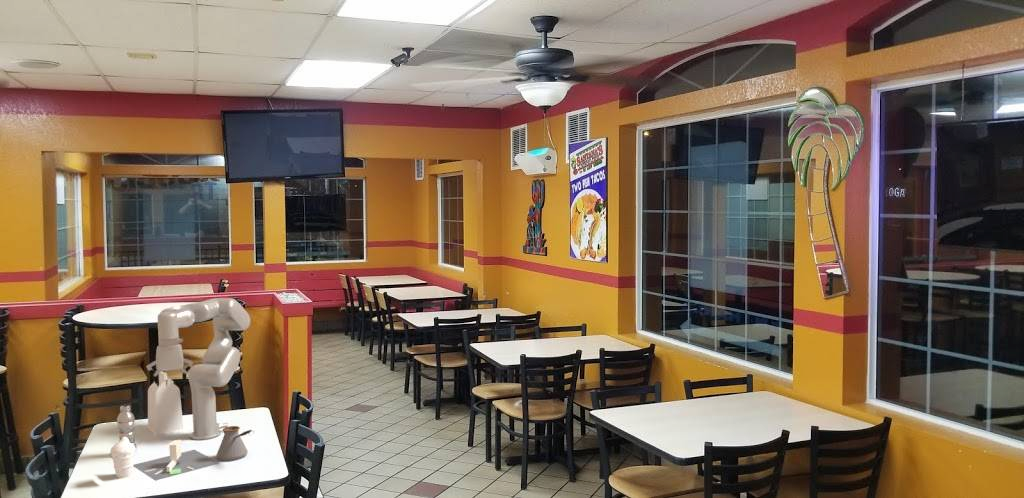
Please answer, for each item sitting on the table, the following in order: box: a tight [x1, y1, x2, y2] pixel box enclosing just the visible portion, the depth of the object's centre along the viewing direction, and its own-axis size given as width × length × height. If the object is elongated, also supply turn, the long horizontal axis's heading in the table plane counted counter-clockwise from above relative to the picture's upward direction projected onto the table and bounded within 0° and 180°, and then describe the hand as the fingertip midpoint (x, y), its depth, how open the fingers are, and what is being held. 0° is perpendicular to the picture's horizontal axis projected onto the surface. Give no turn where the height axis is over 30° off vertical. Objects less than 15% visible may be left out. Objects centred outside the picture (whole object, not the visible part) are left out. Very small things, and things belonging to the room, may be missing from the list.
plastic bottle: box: [116, 404, 138, 452], centre depth 306 cm, size 6×7×20 cm
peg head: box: [166, 439, 182, 472], centre depth 285 cm, size 13×2×8 cm, turn 9°
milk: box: [147, 371, 184, 436], centre depth 340 cm, size 12×12×26 cm
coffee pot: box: [216, 425, 255, 462], centre depth 293 cm, size 21×12×15 cm, turn 49°
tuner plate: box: [133, 449, 221, 481], centre depth 289 cm, size 24×24×2 cm
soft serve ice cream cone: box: [109, 437, 137, 479], centre depth 277 cm, size 8×8×16 cm
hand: (170, 384), depth 306 cm, fingers open, 9 cm apart
